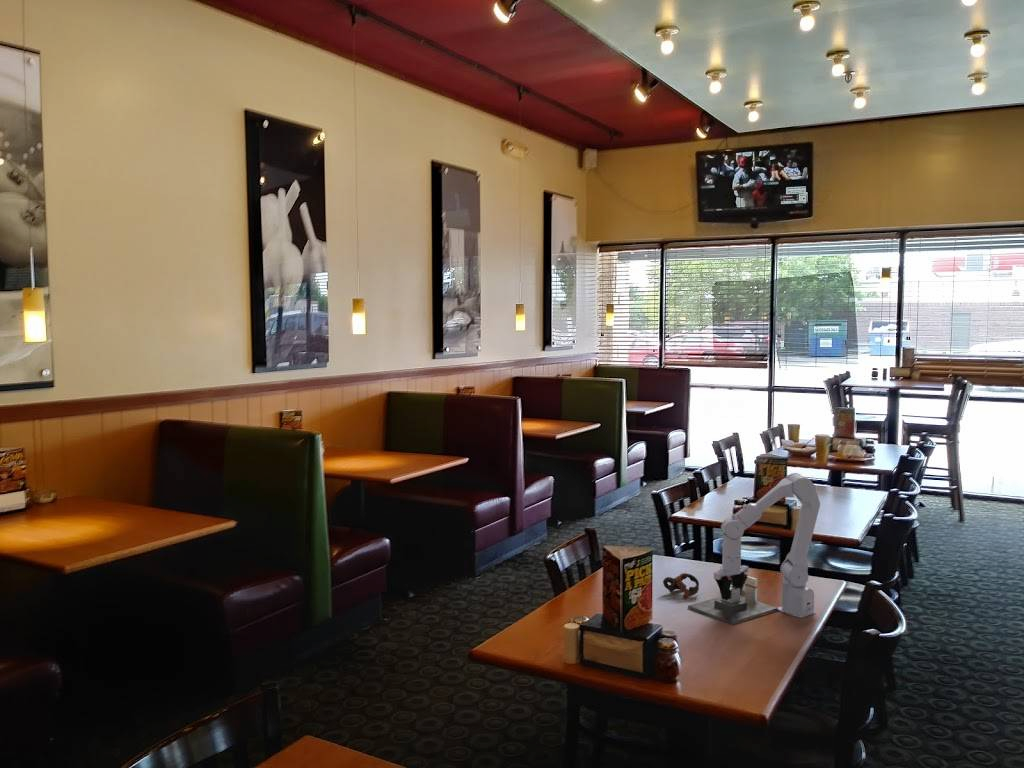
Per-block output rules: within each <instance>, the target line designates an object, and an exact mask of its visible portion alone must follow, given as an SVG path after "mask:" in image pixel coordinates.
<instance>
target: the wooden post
mask: <svg viewBox="0 0 1024 768" xmlns="http://www.w3.org/2000/svg"><path fill="white" fill-rule="evenodd" d="M740 596H741V594H740V588H738V587H735V586H732V585H730V590H729V598H728V600H725V599H722V602H725V603H728V604H731V605H732V604H736V603H739V602H740Z"/></svg>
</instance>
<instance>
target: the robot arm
mask: <svg viewBox="0 0 1024 768" xmlns="http://www.w3.org/2000/svg"><path fill="white" fill-rule="evenodd" d="M795 497H796V499H797V500H798V501H799V503H800V504H801V507H800V511H799V516H798V520H797V524H796V528H795V531H794V534H793V540H792V543H791V547H790V551H789V552H788V553H787V555H786V557H785V559H784V561H783V562H782V563H781V565H780V569H779V570H780V573H781V576H783V578H782V580H781V606H778V607H777V608H778V610H779V612H781V613H784V612H785V613H784V614H787V615H790V616H794V617H796V618H799V619H801V618H804V617H807V616H811V615H814V614H816V611H815V609H814V608H815V593H814V590H813V589H812V588H809V586H807V583H808V581H809V573H808V569H809V562H808V555H809V551H810V547H811V543H812V540H813V535H814V531H815V526H816V523H817V518H818V515H819V510H820V508H821V502H820V499H819V495H818V492H817V486H816V485H815V484H814V482H813V481H811V480H810V479H809V478H808V477H806V476H803V475H802V474H800V473H798V472H792V473H790V474H788V475H787V476H786V477H784V478H782V479H780V481H779V482H778V483H777V484H776V485H774V487H773V488H771V490H769V491H768V492H767V493H766V494H764V495H763V496H762V497H761V498H760V499H758V500H757V501H756V502H755V503H753V502H749V503H748V504H746V503H743V505H742V508H741V509H740V510H738V511H737V512H735V513H732V514H731V515H730V517H727V518H725V519H724V520H723V521H722V523H721V525H720V529H721V531H722V533H723V536H722V555H721V556H722V559H721V562H722V564H721V565H722V566H720V567H719V569H718V570H717V571H716V572H715V571H714V572H713V579H714V580H715V581H716V584H717V585H718V589H719V592H720V597H722V599H725V600H728V598H729V590H730V585H731V583H732V584H733V586H735V587H738V588H740V595H741V593H742V592H741V590H742V587H743V585H744V583H745V581H746V579H747V575H748V573H749V566H748V565H745V564H744V565H742V561H741V560H742V536H744V533H745V530H747V529H748V528H750V527H751V526H752V525H753V524H755V523H756V522H757V521H758V520H760V519H761V518H762V514H763V512H764V511H765V510H767V509H768V508H770V507H771V506H772V505H774V504H775V503H777V502H779V500H781V499H782V498H795ZM744 572H745V573H746V574H747V575H746V574H744ZM728 576H731V578H732V580H729V579H728V578H727V577H728ZM744 586H745V585H744ZM743 588H744V587H743ZM742 591H743V590H742Z"/></svg>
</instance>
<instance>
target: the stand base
mask: <svg viewBox="0 0 1024 768" xmlns="http://www.w3.org/2000/svg"><path fill="white" fill-rule="evenodd" d="M744 588H745V589H744V596H743V595H740V602H739V603H736V604H732V605H731V604H728V603H725V602H722V597H721V596H718V597H715V598H711V599H707V600H704V601H700V602H696V603H692V604H689V605H688V606H687V609H688V610H690V611H693V612H696V613H698V614H699V613H700V614H702V615H705V616H707V617H709V618H712V619H715V620H718V621H721V622H724V623H726V624H729V625H731V624H733V625H736V624H740V623H743V622H745V620H746V621H749V620H748V619H750V620H752V619H751V618H753V619H756V618H759V617H758V616H760V617H762V616H761V615H763V616H765V615H764V614H766V615H768V614H767V613H769V614H772V613H771V612H773V613H775V612H774V611H776V612H778V611H777V610H778V607H776V606H772V605H770V604H768V603H764V602H762V601H758V578H756V577H753V576H749V575H748V576H747V579H746V581H745V585H744ZM755 617H756V618H755ZM742 621H743V622H742ZM739 622H740V623H739Z"/></svg>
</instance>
